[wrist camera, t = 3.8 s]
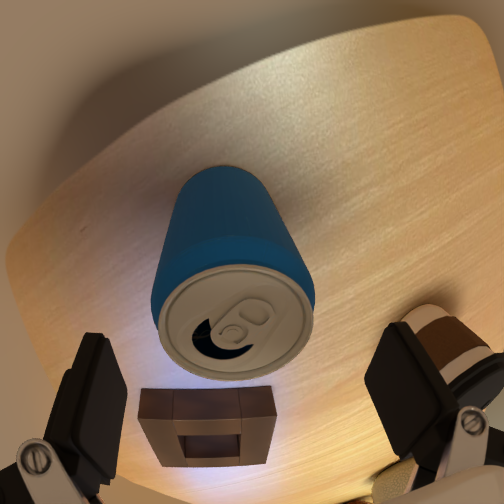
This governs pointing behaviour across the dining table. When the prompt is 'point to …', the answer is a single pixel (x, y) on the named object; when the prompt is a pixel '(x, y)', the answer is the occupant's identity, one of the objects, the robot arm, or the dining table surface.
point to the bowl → (358, 502)
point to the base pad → (208, 425)
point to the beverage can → (230, 281)
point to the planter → (392, 481)
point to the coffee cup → (458, 356)
